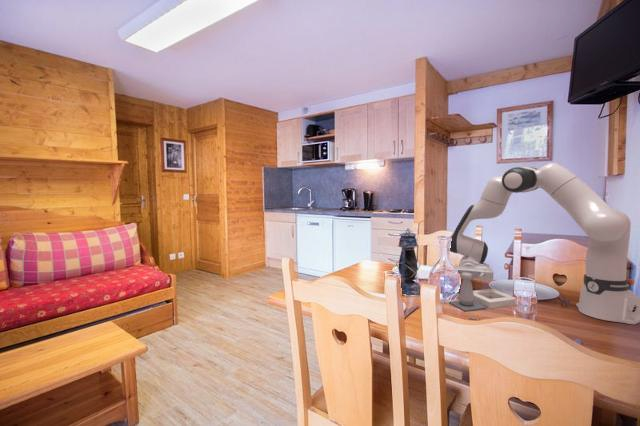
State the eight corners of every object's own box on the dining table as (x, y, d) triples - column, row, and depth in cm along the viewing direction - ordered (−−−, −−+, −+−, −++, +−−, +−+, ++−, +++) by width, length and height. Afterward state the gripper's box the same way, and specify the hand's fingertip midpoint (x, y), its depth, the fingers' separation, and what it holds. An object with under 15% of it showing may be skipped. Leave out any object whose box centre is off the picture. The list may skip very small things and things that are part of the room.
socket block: (491, 293, 140) (491, 288, 140) (518, 304, 127) (518, 298, 127) (465, 297, 137) (465, 291, 137) (489, 308, 123) (489, 302, 123)
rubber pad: (468, 300, 133) (468, 299, 133) (486, 308, 123) (486, 307, 123) (448, 303, 130) (448, 301, 130) (464, 311, 121) (465, 310, 121)
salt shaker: (475, 307, 123) (476, 275, 122) (460, 306, 125) (460, 274, 124) (472, 302, 129) (472, 271, 128) (457, 301, 130) (457, 271, 130)
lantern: (416, 299, 136) (415, 231, 134) (389, 294, 143) (389, 229, 141) (426, 289, 149) (426, 227, 146) (401, 285, 156) (401, 226, 154)
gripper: (445, 260, 152) (442, 267, 140) (492, 264, 143) (494, 271, 130) (445, 273, 153) (442, 280, 140) (492, 277, 143) (493, 286, 131)
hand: (467, 276), depth 135 cm, fingers open, 8 cm apart
